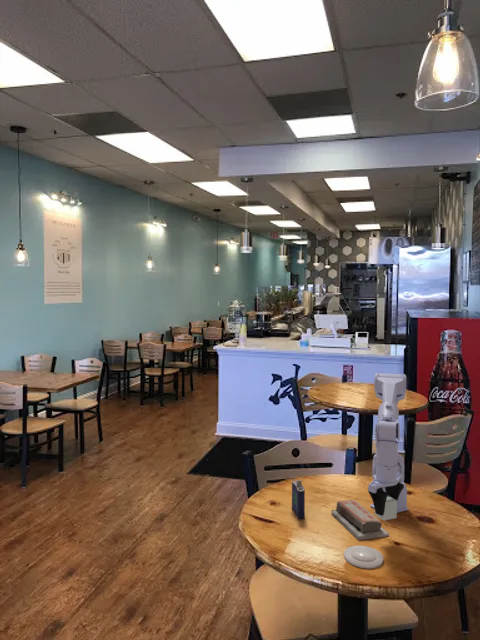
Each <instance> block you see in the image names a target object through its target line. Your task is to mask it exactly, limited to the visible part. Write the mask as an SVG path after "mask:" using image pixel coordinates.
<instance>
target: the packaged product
mask: <svg viewBox="0 0 480 640" xmlns="http://www.w3.org/2000/svg"><path fill="white" fill-rule="evenodd" d="M335 509H336V510H335ZM335 509H332V510H331V515H332V516H333V517H334V518H335V519H336V520H337V522H339V523H340V524H341V525H342V526H343V527H344V528H345V529H346V530H347V531H348V532H349V533H350V534H351V535H352V536H353V537H355V538H356V540H358V541H363V540H371V539H372V540H373V539H378V538H386V537H389V536H390V533H389V532H388V531H386V529H384V528H383V527H382V525H383V523H382V522H381V521H380V520H379V519H378V518H377V517H375V515H373V514H372V513H371V512H369V511H368V510H367V509H366V508H365V507H363V506H362V505H361V504H360V503H359V502H358V501H356V500H354V499H347V500H345V499H344V500H338V501H336V508H335Z"/></svg>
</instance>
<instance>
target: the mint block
mask: <svg viewBox="0 0 480 640" xmlns="http://www.w3.org/2000/svg"><path fill="white" fill-rule="evenodd" d="M397 514H398V513H397V500H395V499H394V498H392V497H390V496H388V497H387V499H386V503H385V510H384V515H383V516H381V515H378V514H376V512H375V511H374V516H376V518H379V519H380V520H383V521H387V520H389V521H390V520H393V519H397V518H398V517H397Z"/></svg>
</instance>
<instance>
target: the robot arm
mask: <svg viewBox="0 0 480 640" xmlns="http://www.w3.org/2000/svg"><path fill="white" fill-rule="evenodd" d="M373 383H374V387H373V388H374V393H375V396H376V397H375V398H377V399H380V400H381V402H382V403H381V404H379V407H378V410H377V411H378V413H377V422H375V424H374V425H375V426H374V438H375V448H376V449H375V450H376V452H375V454H374V456H373V458H372V459H373V460H372V472H371V473H372V475H371V476H372V481H371V482H370V483H369V484H368V486H367V492H368V494H369V496H370V498H371V500H372V503H371V504H370V505H369V507H371V508H373V509H374V513H375V512H376V514H378V515H381V516H383V515H384V510H385V503H386V499H387V497H388V496H390V497H392V498H394V499H395V500H397V514H398V513H402V512H406V511H408V510H409V507H407V506H408V504H407V503H408V489H407V485H406V483H405V482H404V481H405V459H404V457H403V455H401V454H400V453H398V451H399V449H398V448H399V442H400V436H401V435H400V432H401V429H400V428H401V425H400V420H399V417H400V416H399V415H400V413H399V412H400V411H399V410H400V409H399V407H398V405H399V403H400V401H403V400H405V398H406V393H407V375H406V374H405V373H403V374H401V373H400V374H398V373H397V374H396V373H381V372H380V373H379V372H376V373H374V382H373Z"/></svg>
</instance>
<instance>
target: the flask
mask: <svg viewBox="0 0 480 640" xmlns="http://www.w3.org/2000/svg"><path fill="white" fill-rule="evenodd" d="M302 482H303V480H298V479H296V480H294V481H293V480H292V482H291V510H292V511H293V513H294V515H295V516H296V518H297V520H299V521H303V520H305V518H306V515H305V513H306V512H305V504H306V503H305V500H306V499H305V498H306V496H305V494H306V491H305V490H306V489H305V487H304V485H303V484H302Z"/></svg>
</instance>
